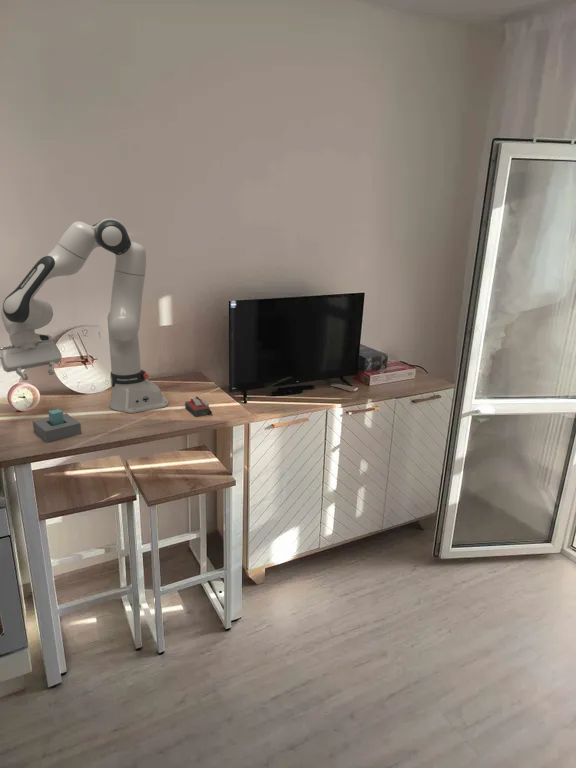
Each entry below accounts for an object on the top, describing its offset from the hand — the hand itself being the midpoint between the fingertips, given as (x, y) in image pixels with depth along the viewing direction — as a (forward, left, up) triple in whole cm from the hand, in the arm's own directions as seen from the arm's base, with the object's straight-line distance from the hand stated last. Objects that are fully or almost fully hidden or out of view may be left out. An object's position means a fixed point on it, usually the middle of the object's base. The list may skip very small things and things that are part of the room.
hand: (39, 376), depth 207 cm
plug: (-4, +13, -17) cm, 22 cm away
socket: (-4, +13, -17) cm, 22 cm away
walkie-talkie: (-56, +4, -18) cm, 59 cm away
